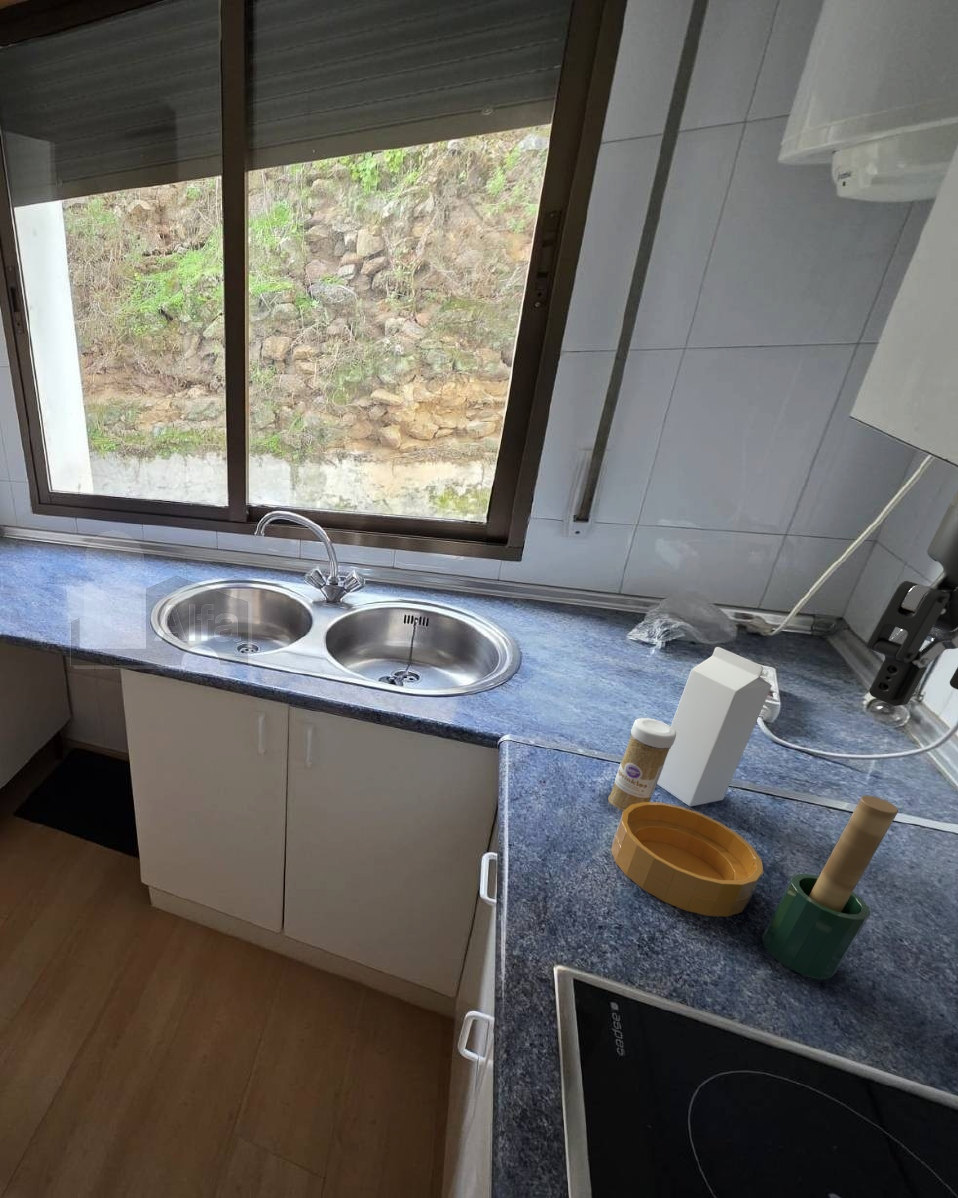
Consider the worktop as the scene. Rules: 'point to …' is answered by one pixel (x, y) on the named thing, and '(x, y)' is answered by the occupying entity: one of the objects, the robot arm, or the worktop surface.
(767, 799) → the worktop surface
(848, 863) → the stick
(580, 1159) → the worktop surface
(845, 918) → the utensil pot
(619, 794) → the sprinkles bottle
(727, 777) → the milk
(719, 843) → the bowl
